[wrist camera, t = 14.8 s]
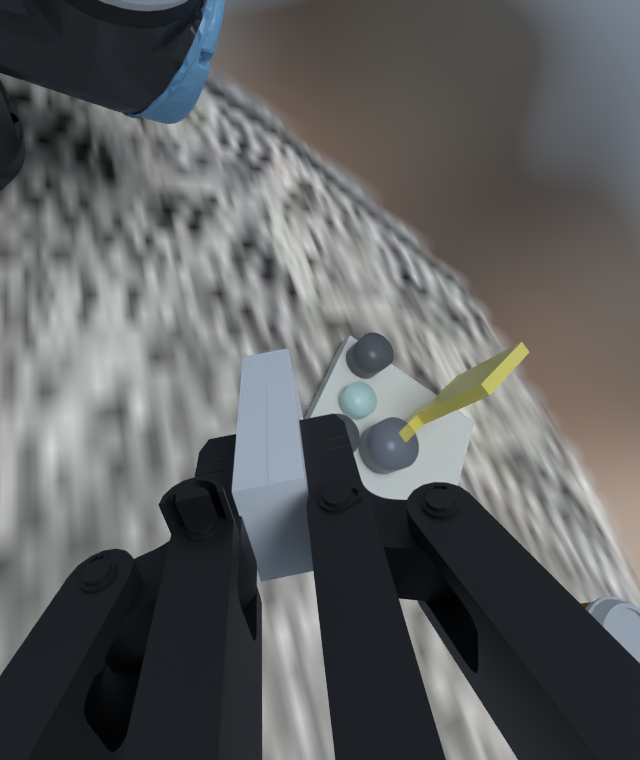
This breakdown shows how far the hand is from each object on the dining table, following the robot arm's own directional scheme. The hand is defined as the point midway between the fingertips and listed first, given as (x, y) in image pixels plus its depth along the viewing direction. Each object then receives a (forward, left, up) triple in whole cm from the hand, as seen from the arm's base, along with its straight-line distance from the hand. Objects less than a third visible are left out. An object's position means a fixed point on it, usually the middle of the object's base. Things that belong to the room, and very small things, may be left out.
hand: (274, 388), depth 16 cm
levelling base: (+17, +17, -27) cm, 36 cm away
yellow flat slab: (+18, +19, -25) cm, 36 cm away
